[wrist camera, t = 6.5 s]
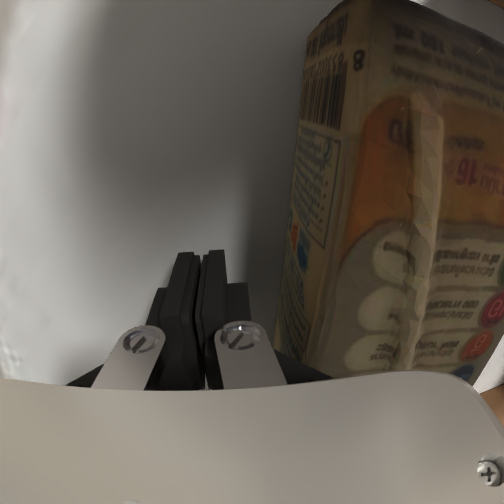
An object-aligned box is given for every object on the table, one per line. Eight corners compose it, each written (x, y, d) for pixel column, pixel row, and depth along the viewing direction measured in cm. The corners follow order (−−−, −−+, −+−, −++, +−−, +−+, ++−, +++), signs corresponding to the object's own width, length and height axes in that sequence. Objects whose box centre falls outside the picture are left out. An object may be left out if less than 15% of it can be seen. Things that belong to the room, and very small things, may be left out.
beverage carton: (255, 408, 17) (264, 508, 11) (295, 26, 9) (361, -46, 4) (378, 399, 18) (412, 482, 12) (466, 74, 10) (581, 81, 4)
